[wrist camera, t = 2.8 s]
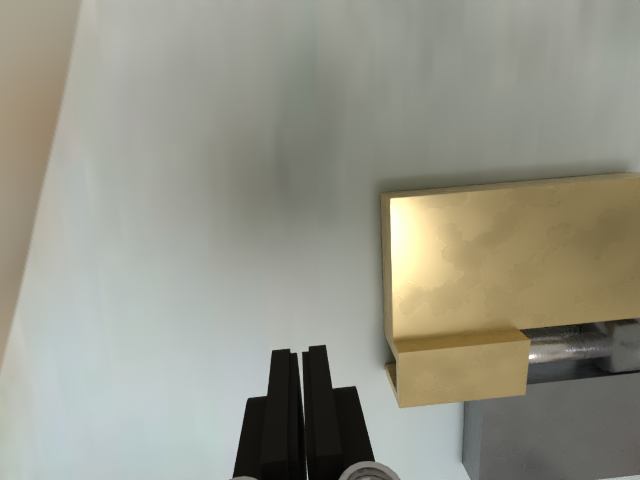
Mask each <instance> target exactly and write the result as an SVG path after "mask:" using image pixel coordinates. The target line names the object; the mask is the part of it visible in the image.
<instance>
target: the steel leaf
mask: <svg viewBox="0 0 640 480" xmlns="http://www.w3.org/2000/svg"><path fill="white" fill-rule="evenodd" d="M530 340H531V343H530V353H529V363H528V373H527V383H526V393H525V395H519V396H509V397H500V398H491V399H481V400H472V401H465V413H464V436H463V459H462V464H463V466H464V467H465V469H466V471H467V473H468V475H469V477H470V479H471V480H598V479H606V478H615V477H624V476H632V475H640V318H631V319H621V320H610V321H600V322H590V323H583V325H582V329H581V333H580V334H570V335H560V336H550V337H540V338H530Z"/></svg>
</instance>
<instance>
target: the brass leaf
mask: <svg viewBox="0 0 640 480" xmlns="http://www.w3.org/2000/svg"><path fill="white" fill-rule="evenodd" d="M381 227H382V262H383V297H384V332H385V337H386V339H387V341H388V343H389V346H390V348H391V350H392V352H393V354H394V357H395V359H396V363H395V364H385V367H386V374H387V377H388V379H389V382H390V384H391V387H392V390H393V392H394V395H395V398H396V400H397V403H398V405H399V408H406V407H415V406H425V405H434V404H444V403H453V402H462V401H472V400H481V399H491V398H500V397H509V396H519V395H525V393H526V383H527V373H528V363H529V353H530V343H531V340H530V339H529V338H528V337H527V336H526V335H524V334H523V333H522V332H521V331H520V329H530V328H540V327H550V326H560V325H570V324H580V323H590V322H600V321H610V320H621V319H631V318H640V173H633V172H625V173H613V174H601V175H589V176H577V177H565V178H553V179H541V180H529V181H517V182H505V183H493V184H482V185H470V186H458V187H446V188H434V189H422V190H410V191H398V192H386V193H381Z"/></svg>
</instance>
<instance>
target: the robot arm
mask: <svg viewBox="0 0 640 480" xmlns="http://www.w3.org/2000/svg"><path fill="white" fill-rule="evenodd" d="M302 360H303V387H304V414H303V405H302V395H301V386H300V376H299V367H298V357H297V353H290V349H282V350H273V351H272V356H271V365H270V375H269V384H268V393H267V396H262V397H253V398H248V400H247V403H246V409H245V414H244V419H243V425H242V430H241V435H240V441H239V446H238V452H237V457H236V462H235V468H234V473H233V478H232V479H230V480H307V471H308V480H400V478H399V477H398V475H397V474H396V473H395V472H394V471H393V470H391V469H390V468H389V467H387V466H385V465H383V464H381V463H378V462H375V459H374V455H373V451H372V448H371V444H370V440H369V436H368V432H367V428H366V424H365V420H364V416H363V412H362V408H361V404H360V400H359V396H358V392H357V389H356V387H355V386H351V387H342V388H334V389H332V382H331V376H330V370H329V363H328V357H327V350H326V345H319V346H310V347H309V351H308V352H302ZM304 415H305V424H304ZM306 460H307V467H306Z"/></svg>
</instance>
